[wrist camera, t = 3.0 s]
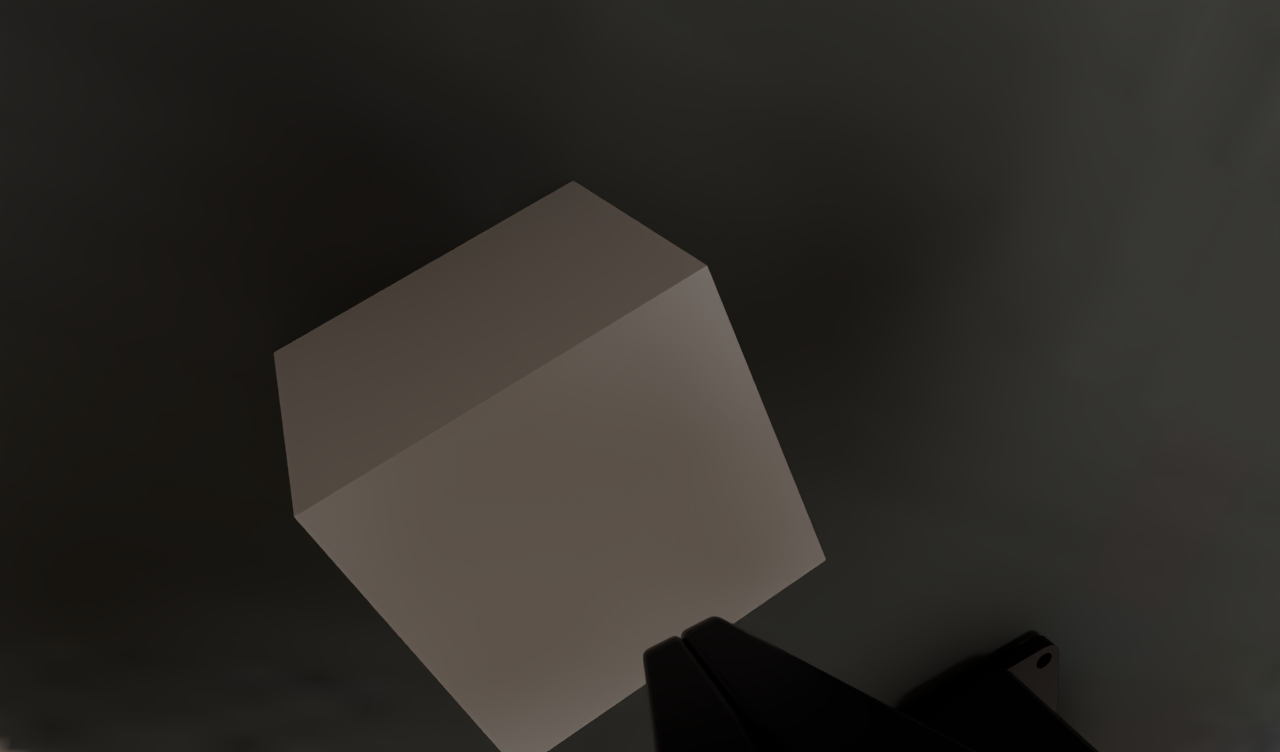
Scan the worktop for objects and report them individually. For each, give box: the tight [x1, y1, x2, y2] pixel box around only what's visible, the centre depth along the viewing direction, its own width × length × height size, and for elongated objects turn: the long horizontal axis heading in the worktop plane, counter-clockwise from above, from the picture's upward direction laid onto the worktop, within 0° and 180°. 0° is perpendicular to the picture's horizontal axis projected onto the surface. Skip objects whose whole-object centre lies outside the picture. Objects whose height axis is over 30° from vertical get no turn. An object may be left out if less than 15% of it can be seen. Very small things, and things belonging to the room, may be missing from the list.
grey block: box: [274, 181, 826, 752], centre depth 12 cm, size 5×5×4 cm
